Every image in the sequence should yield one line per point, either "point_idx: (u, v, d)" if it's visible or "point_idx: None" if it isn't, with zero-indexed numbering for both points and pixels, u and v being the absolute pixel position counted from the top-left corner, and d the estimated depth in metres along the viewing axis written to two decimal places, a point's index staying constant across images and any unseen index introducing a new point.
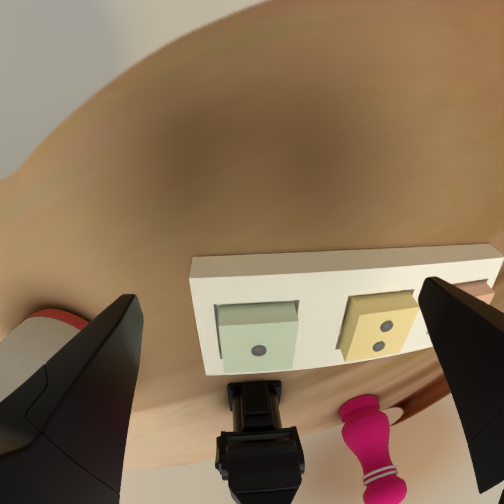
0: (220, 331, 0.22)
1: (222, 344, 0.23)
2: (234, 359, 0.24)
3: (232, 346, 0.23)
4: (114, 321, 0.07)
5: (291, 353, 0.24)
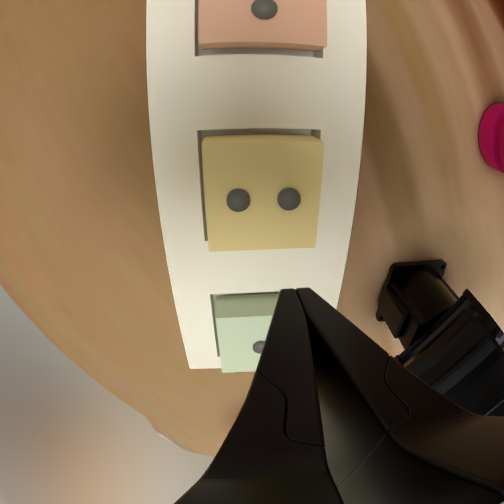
0: (229, 371, 0.22)
1: (249, 370, 0.22)
2: None
3: (253, 364, 0.22)
4: (301, 316, 0.07)
5: None
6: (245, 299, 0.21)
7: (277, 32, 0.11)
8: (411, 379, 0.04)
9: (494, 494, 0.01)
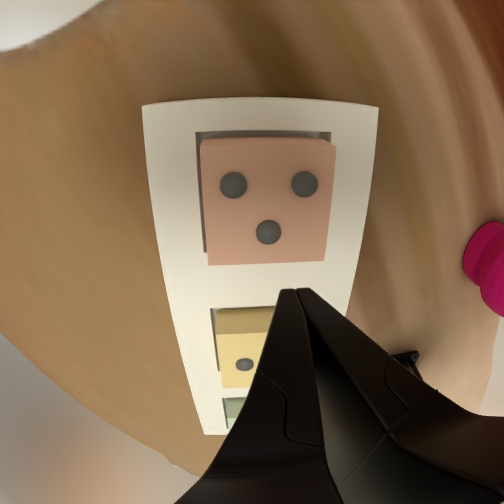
0: None
1: None
2: None
3: None
4: (301, 316, 0.07)
5: None
6: None
7: (279, 254, 0.15)
8: (411, 379, 0.04)
9: (494, 494, 0.01)
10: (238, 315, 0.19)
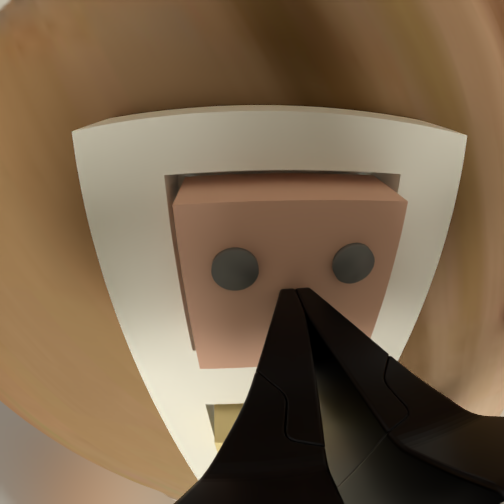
0: None
1: None
2: None
3: None
4: (301, 316, 0.07)
5: None
6: None
7: None
8: (411, 379, 0.04)
9: (494, 494, 0.01)
10: None
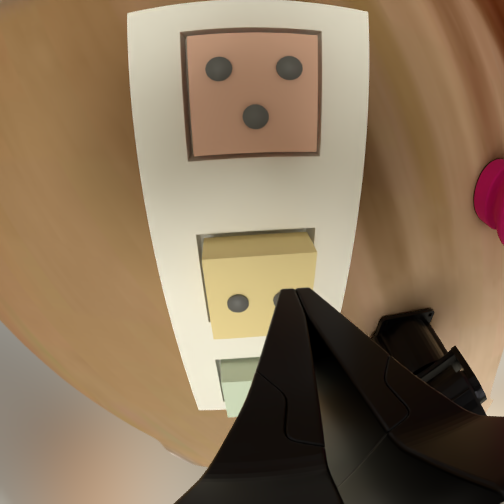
0: (234, 416, 0.24)
1: None
2: None
3: None
4: (301, 316, 0.07)
5: None
6: (246, 362, 0.23)
7: (268, 141, 0.14)
8: (411, 379, 0.04)
9: (494, 494, 0.01)
10: (229, 241, 0.17)
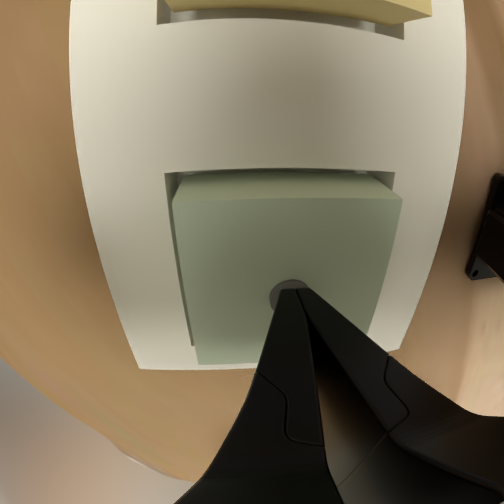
0: (215, 363, 0.10)
1: (258, 360, 0.10)
2: None
3: None
4: (301, 316, 0.07)
5: (327, 207, 0.07)
6: (251, 177, 0.09)
7: None
8: (411, 379, 0.04)
9: (494, 494, 0.01)
10: None
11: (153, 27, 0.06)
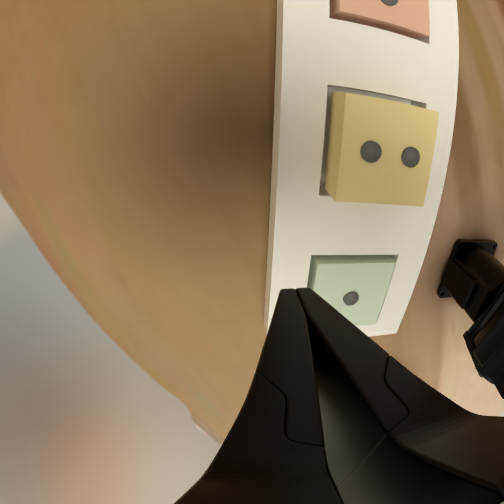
0: None
1: None
2: (357, 316, 0.23)
3: None
4: (301, 316, 0.07)
5: (368, 266, 0.20)
6: None
7: (397, 17, 0.12)
8: (411, 379, 0.04)
9: (494, 494, 0.01)
10: None
11: (317, 196, 0.18)
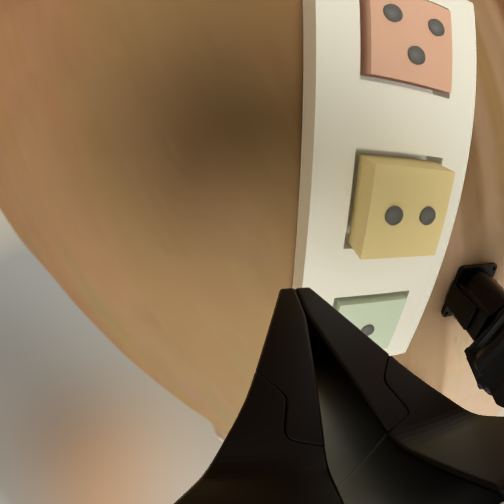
0: None
1: None
2: None
3: None
4: (301, 316, 0.07)
5: (383, 303, 0.22)
6: None
7: (423, 76, 0.13)
8: (411, 379, 0.04)
9: (494, 494, 0.01)
10: (384, 158, 0.16)
11: (341, 249, 0.20)
